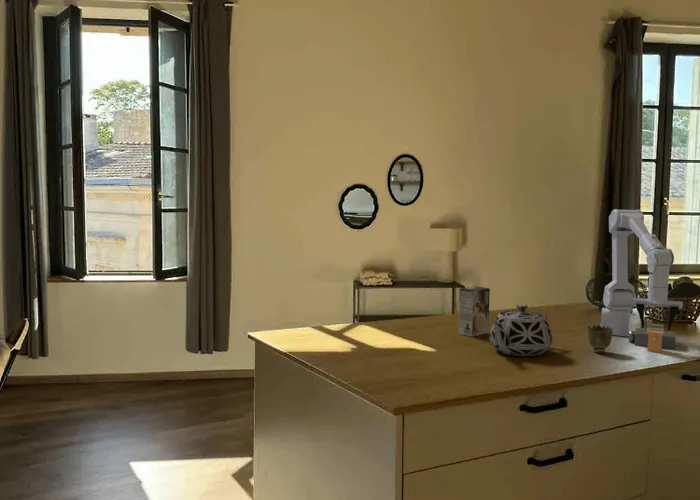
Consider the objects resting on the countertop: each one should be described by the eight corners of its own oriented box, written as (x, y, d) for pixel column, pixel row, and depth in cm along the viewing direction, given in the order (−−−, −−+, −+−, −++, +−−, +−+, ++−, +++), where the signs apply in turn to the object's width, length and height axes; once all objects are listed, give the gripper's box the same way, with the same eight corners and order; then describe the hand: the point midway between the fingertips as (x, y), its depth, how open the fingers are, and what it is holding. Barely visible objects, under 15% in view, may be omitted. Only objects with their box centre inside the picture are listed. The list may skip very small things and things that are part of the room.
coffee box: (474, 330, 252) (476, 285, 250) (488, 333, 247) (490, 288, 245) (457, 333, 246) (459, 288, 244) (472, 337, 241) (473, 290, 239)
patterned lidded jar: (464, 354, 217) (465, 306, 215) (518, 340, 238) (520, 296, 237) (518, 367, 203) (520, 316, 202) (570, 350, 225) (572, 303, 223)
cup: (599, 356, 218) (600, 330, 217) (581, 350, 224) (582, 326, 223) (616, 353, 221) (618, 328, 220) (598, 348, 228) (599, 324, 227)
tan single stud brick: (647, 352, 224) (648, 333, 223) (647, 348, 229) (648, 330, 228) (661, 353, 222) (662, 335, 222) (661, 350, 228) (662, 331, 227)
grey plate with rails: (628, 344, 234) (629, 326, 234) (628, 339, 242) (629, 321, 242) (674, 349, 229) (675, 330, 228) (673, 343, 237) (674, 325, 236)
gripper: (633, 286, 224) (630, 328, 225) (684, 290, 218) (681, 333, 219) (633, 283, 230) (631, 324, 231) (683, 287, 224) (680, 329, 226)
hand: (655, 328), depth 226 cm, fingers open, 7 cm apart
